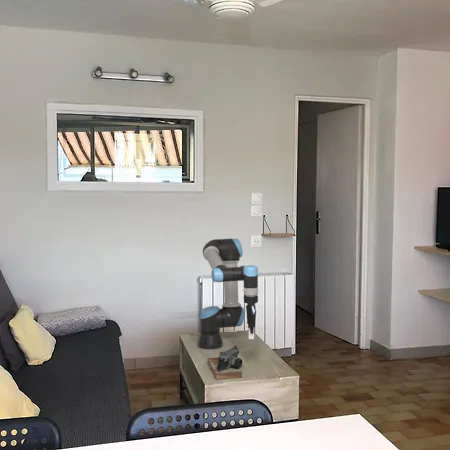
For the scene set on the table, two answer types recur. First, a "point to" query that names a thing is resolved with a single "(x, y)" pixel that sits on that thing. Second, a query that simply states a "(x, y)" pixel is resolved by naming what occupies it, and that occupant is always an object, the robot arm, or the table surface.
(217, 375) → the dock
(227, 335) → the table surface
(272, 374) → the table surface
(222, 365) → the camera
